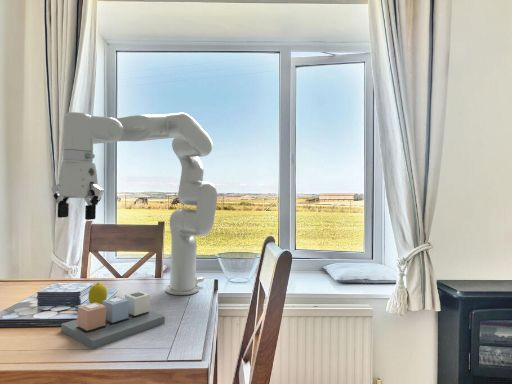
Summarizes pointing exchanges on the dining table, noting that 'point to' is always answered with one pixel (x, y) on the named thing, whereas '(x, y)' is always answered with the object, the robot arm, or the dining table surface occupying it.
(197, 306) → the dining table surface
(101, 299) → the lemon
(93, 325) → the key terracotta
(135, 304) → the key cream
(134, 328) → the keypad board
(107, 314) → the key slate
